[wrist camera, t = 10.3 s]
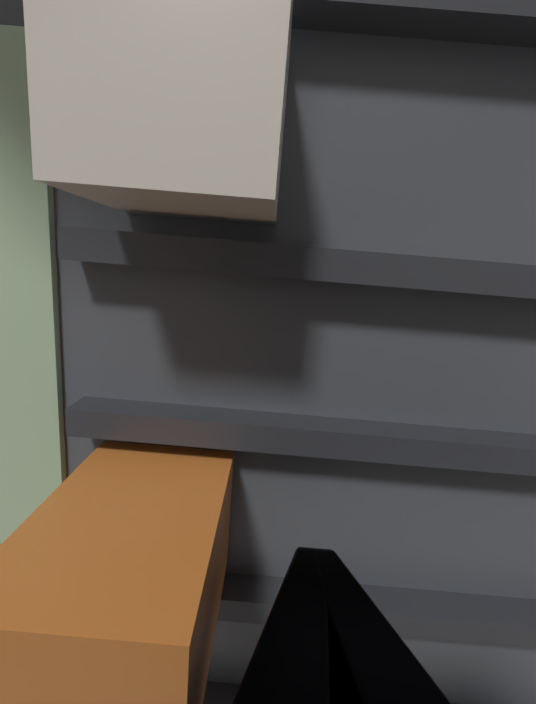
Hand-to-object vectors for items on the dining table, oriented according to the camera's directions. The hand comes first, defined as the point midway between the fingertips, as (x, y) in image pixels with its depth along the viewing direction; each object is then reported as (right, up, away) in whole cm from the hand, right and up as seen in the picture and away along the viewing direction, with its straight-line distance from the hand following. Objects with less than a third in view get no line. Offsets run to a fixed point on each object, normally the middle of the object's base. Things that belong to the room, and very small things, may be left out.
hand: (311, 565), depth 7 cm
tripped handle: (-3, +1, +1) cm, 4 cm away
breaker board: (+1, +1, +3) cm, 4 cm away
